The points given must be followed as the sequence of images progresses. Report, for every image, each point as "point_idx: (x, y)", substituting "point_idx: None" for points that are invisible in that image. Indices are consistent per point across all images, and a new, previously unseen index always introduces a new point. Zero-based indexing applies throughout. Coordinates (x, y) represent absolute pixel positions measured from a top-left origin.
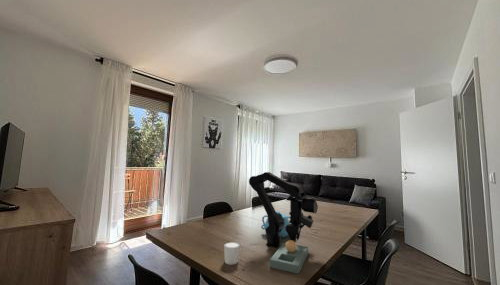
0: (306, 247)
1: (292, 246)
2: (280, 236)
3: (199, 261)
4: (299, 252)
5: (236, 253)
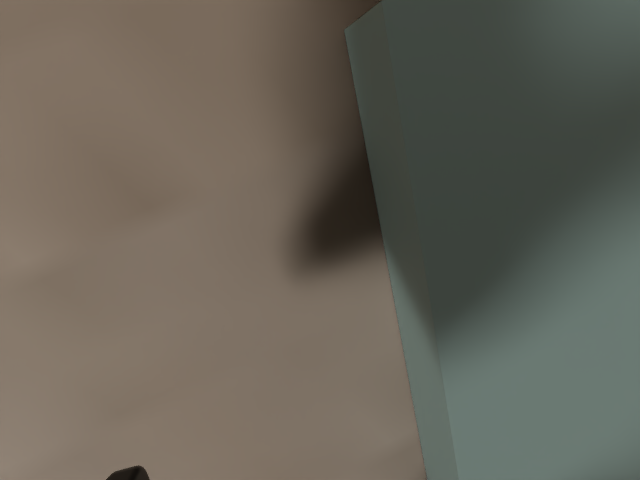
0: (463, 22)
1: None
2: None
3: None
4: None
5: None
